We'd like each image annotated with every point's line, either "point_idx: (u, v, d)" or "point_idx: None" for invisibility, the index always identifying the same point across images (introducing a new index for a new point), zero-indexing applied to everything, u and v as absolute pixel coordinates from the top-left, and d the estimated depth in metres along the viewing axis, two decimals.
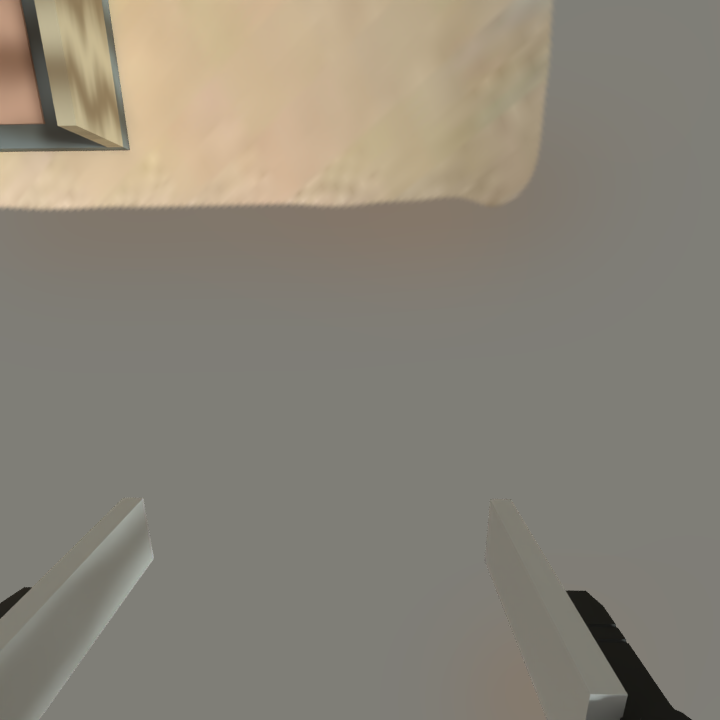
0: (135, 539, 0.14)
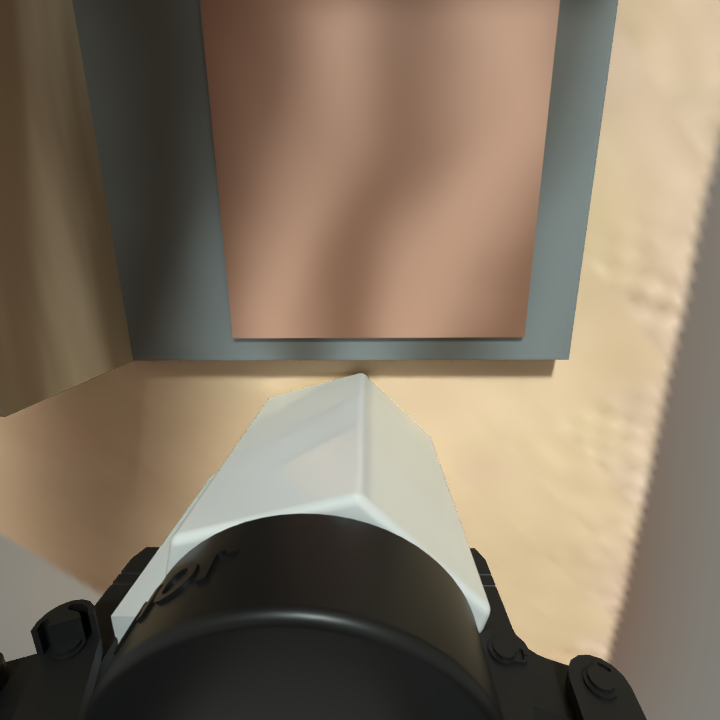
0: None
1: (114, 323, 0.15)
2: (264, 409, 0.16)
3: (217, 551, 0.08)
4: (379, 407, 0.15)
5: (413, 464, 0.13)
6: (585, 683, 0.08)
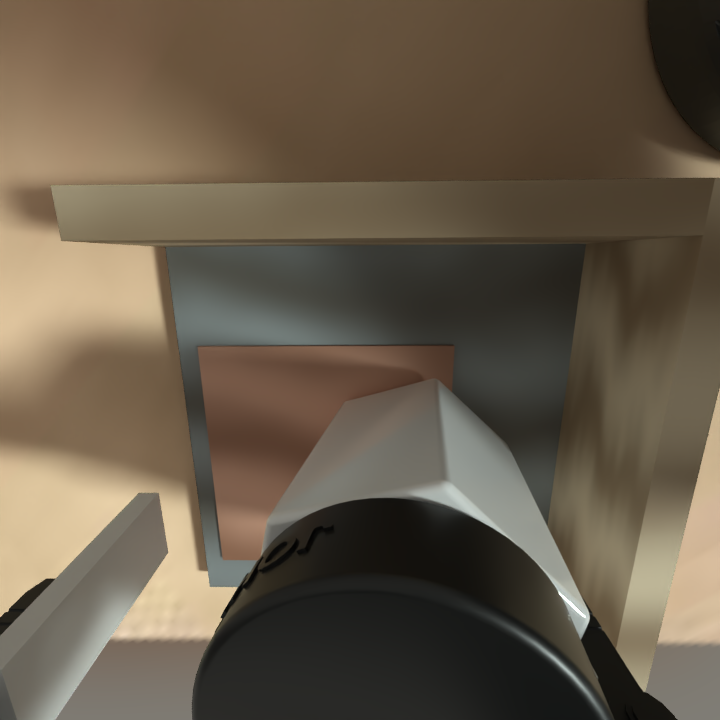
0: (151, 533, 0.14)
1: None
2: (341, 412, 0.17)
3: (314, 526, 0.08)
4: (455, 410, 0.15)
5: (494, 466, 0.13)
6: None
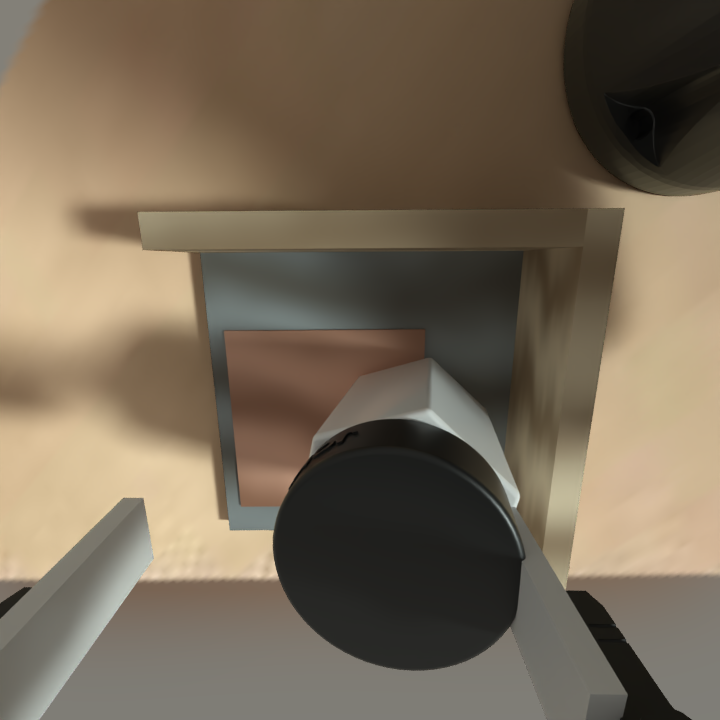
0: (135, 539, 0.14)
1: (225, 252, 0.21)
2: (357, 382, 0.22)
3: (346, 433, 0.13)
4: (443, 378, 0.20)
5: (468, 414, 0.17)
6: None
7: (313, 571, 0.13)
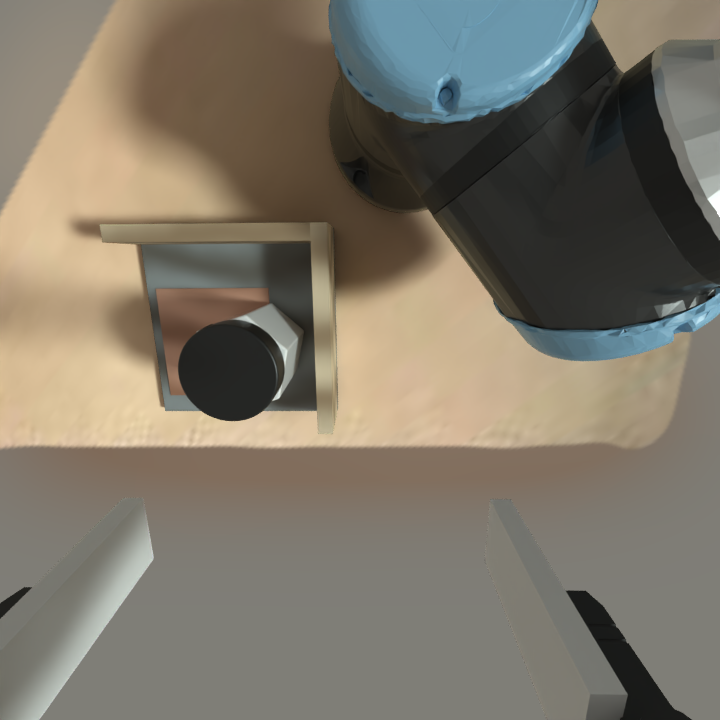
0: (135, 539, 0.14)
1: None
2: (229, 317, 0.39)
3: (208, 325, 0.31)
4: (272, 311, 0.38)
5: (279, 325, 0.36)
6: None
7: (196, 381, 0.31)
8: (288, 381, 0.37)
